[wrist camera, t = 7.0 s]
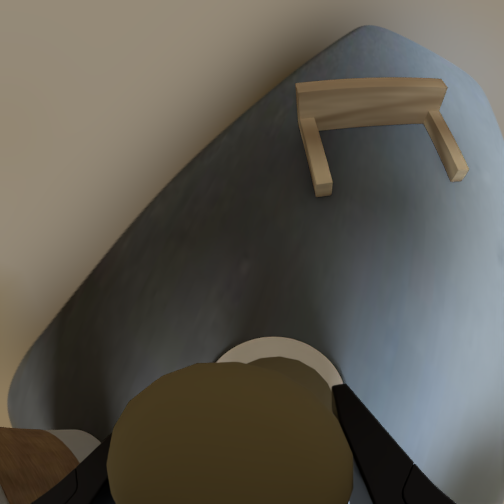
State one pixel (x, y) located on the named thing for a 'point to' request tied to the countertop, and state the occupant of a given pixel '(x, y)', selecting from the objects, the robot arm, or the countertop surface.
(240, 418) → the cork
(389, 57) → the countertop surface
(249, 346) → the saucer
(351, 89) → the holder
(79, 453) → the coffee cup
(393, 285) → the countertop surface
